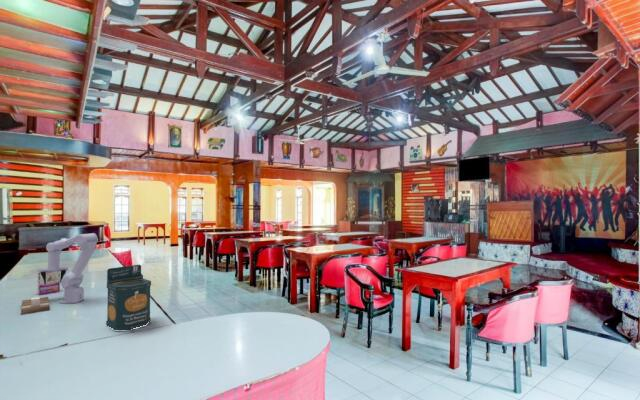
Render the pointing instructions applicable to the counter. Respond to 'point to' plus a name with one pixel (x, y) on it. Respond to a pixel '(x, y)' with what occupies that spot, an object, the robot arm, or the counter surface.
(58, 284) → the candy bar box
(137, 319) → the donation box
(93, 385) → the counter surface
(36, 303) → the plug
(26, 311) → the socket board
